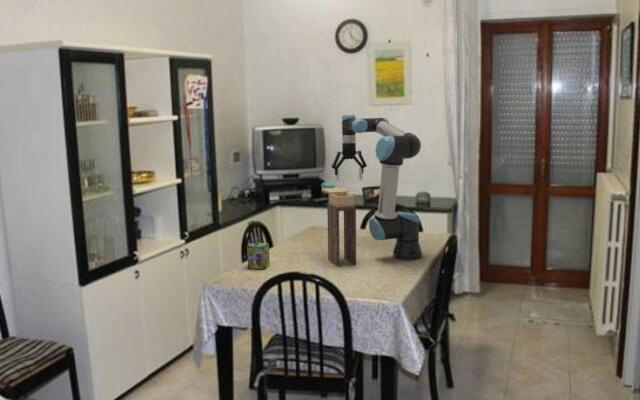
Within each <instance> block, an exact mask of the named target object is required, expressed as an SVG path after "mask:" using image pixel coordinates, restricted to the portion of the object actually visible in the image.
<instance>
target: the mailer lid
mask: <svg viewBox="0 0 640 400" xmlns="http://www.w3.org/2000/svg"><path fill="white" fill-rule="evenodd" d="M320 186H321V191H322V192H325V193H327V194H328V195H329V194H336V193H349V190H347V189H345V188H342V187H335V185H334V184H331V183H330V182H324V183H321V184H320ZM349 194H350V193H349Z"/></svg>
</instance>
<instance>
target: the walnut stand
mask: <svg viewBox="0 0 640 400" xmlns="http://www.w3.org/2000/svg"><path fill="white" fill-rule="evenodd" d="M326 203H327V205H326V206H327V207H326V209H327V213H326V214H327V260H328V261H329V262H331V263H332V264H333V265H335V266H336V267H337V268H339V267H341V265H340V264H341V263H340V262H341V261H340V260H341V259H340V212H343V244H344V245H343V250H344V251H343V252H344V253H343V254H344V255H343V256H344V257H343V258H344V259H345V260H347V262H349V263H350V264H352V265H353V266H357V206H356V205H355V204H354V206H344V207H336V206H334V205H332V204H330V203H329V202H326Z"/></svg>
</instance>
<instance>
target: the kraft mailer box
mask: <svg viewBox="0 0 640 400" xmlns="http://www.w3.org/2000/svg"><path fill="white" fill-rule="evenodd" d="M328 203H330V204H332V205H334V206H336V207H344V206H354V205H355V195H353V194H351V193H336V194H329V193H328Z"/></svg>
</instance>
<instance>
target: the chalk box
mask: <svg viewBox="0 0 640 400" xmlns="http://www.w3.org/2000/svg"><path fill="white" fill-rule="evenodd" d="M246 251H247V252H246V253H247V256H246V257H247V269H248V270H266V269H267V268H268V267H269V266H270V264H271V263H270V260H271V259H270V244H269V242H268V243H267V242H260V241H259V238H258V237H256V238H254V242H251V243H250V244H248V245H247V246H246Z"/></svg>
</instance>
